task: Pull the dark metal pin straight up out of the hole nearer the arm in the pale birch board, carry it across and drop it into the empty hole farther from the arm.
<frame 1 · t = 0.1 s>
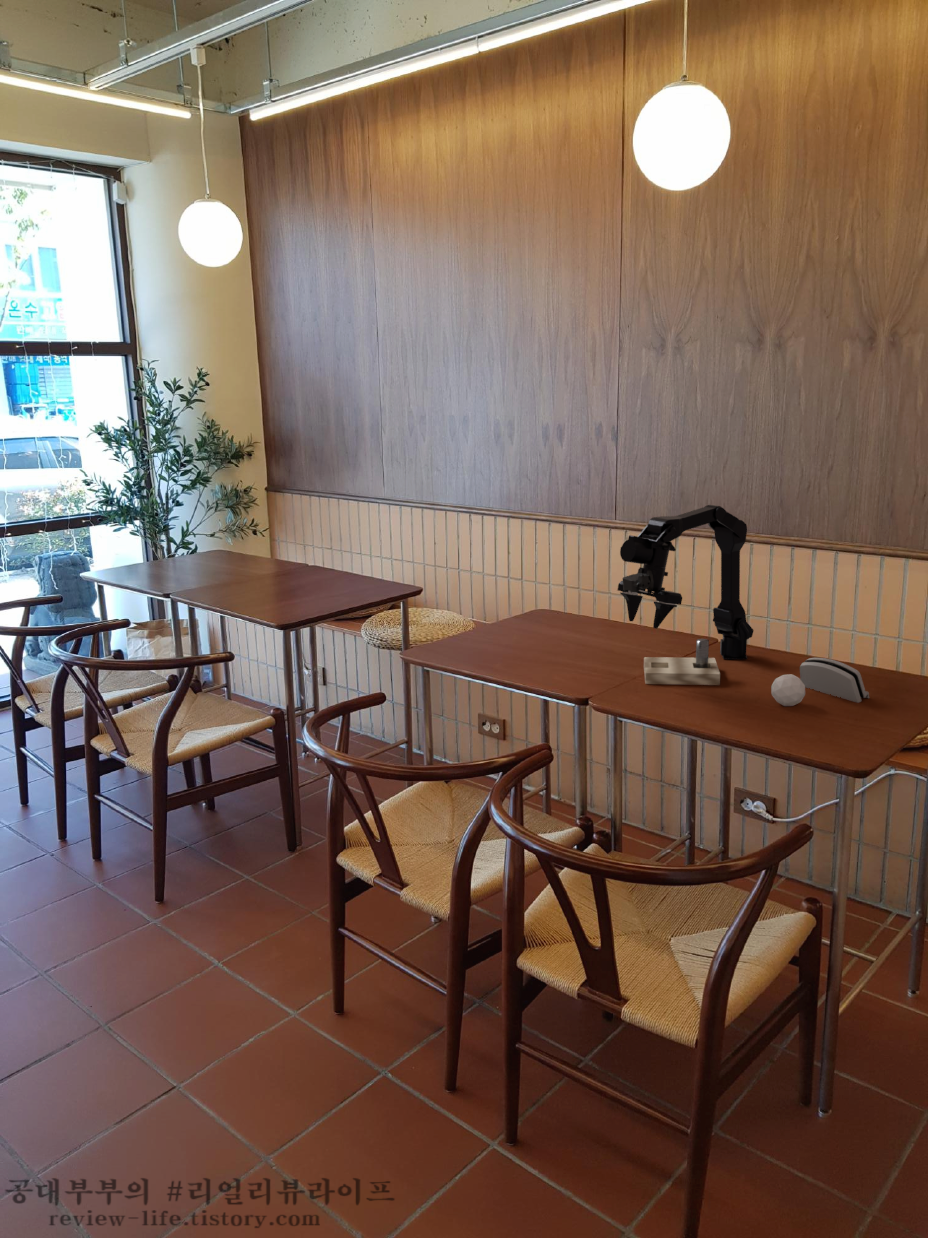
hand: (642, 624, 245), 15 cm above the table, tool pointing down, fingers open, 9 cm apart
geometric ball: (787, 705, 227), on the table
pin: (701, 676, 250), resting in dock board
grey napkin holder: (831, 694, 234), on the table
dock board: (680, 675, 251), on the table
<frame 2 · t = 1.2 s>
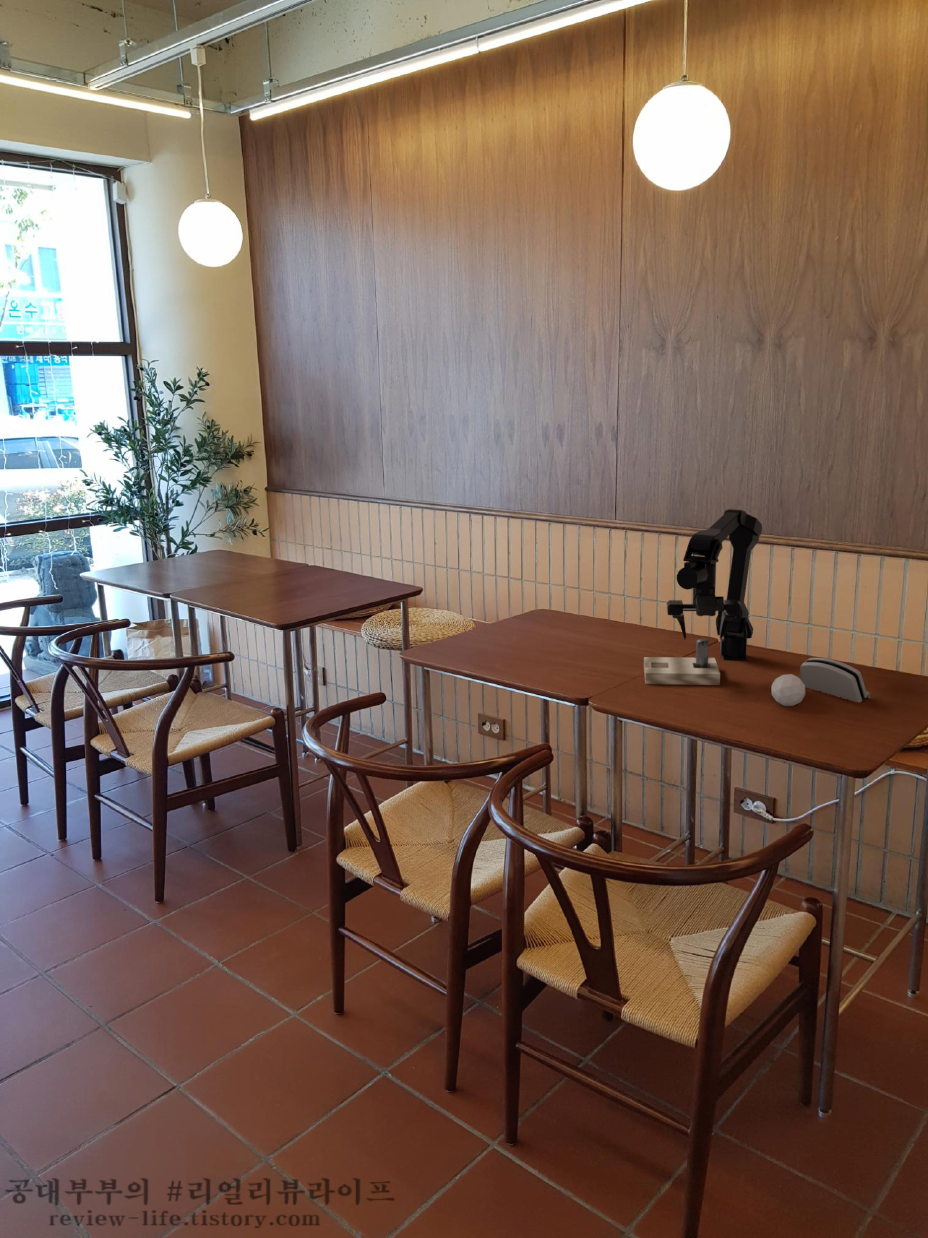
hand: (702, 639, 248), 10 cm above the table, tool pointing down, fingers open, 9 cm apart
nothing on the table moved.
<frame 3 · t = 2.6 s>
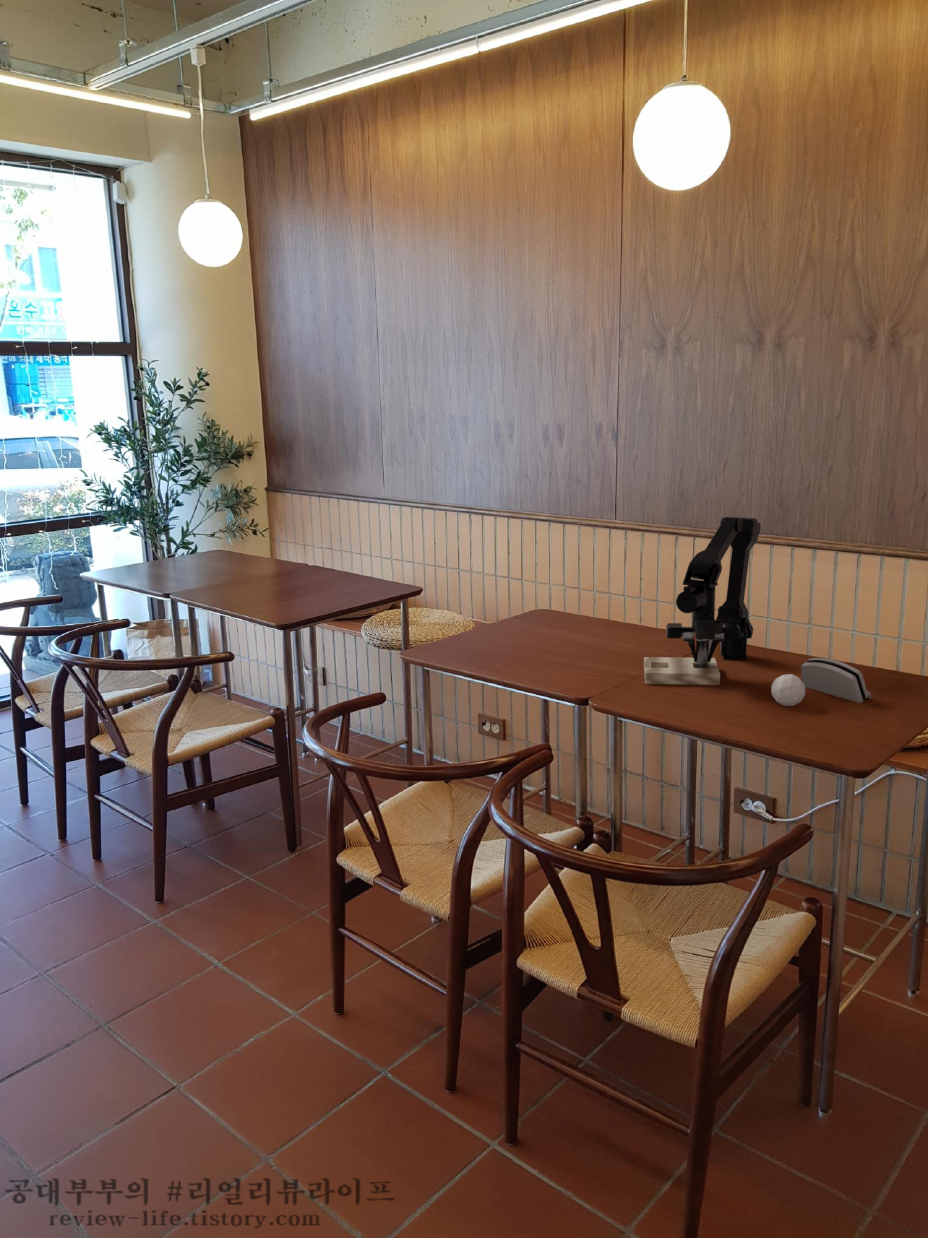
hand: (701, 661, 249), 4 cm above the table, tool pointing down, fingers closed on pin, 3 cm apart
pin: (701, 676, 250), resting in dock board, touching gripper
everything else where it was.
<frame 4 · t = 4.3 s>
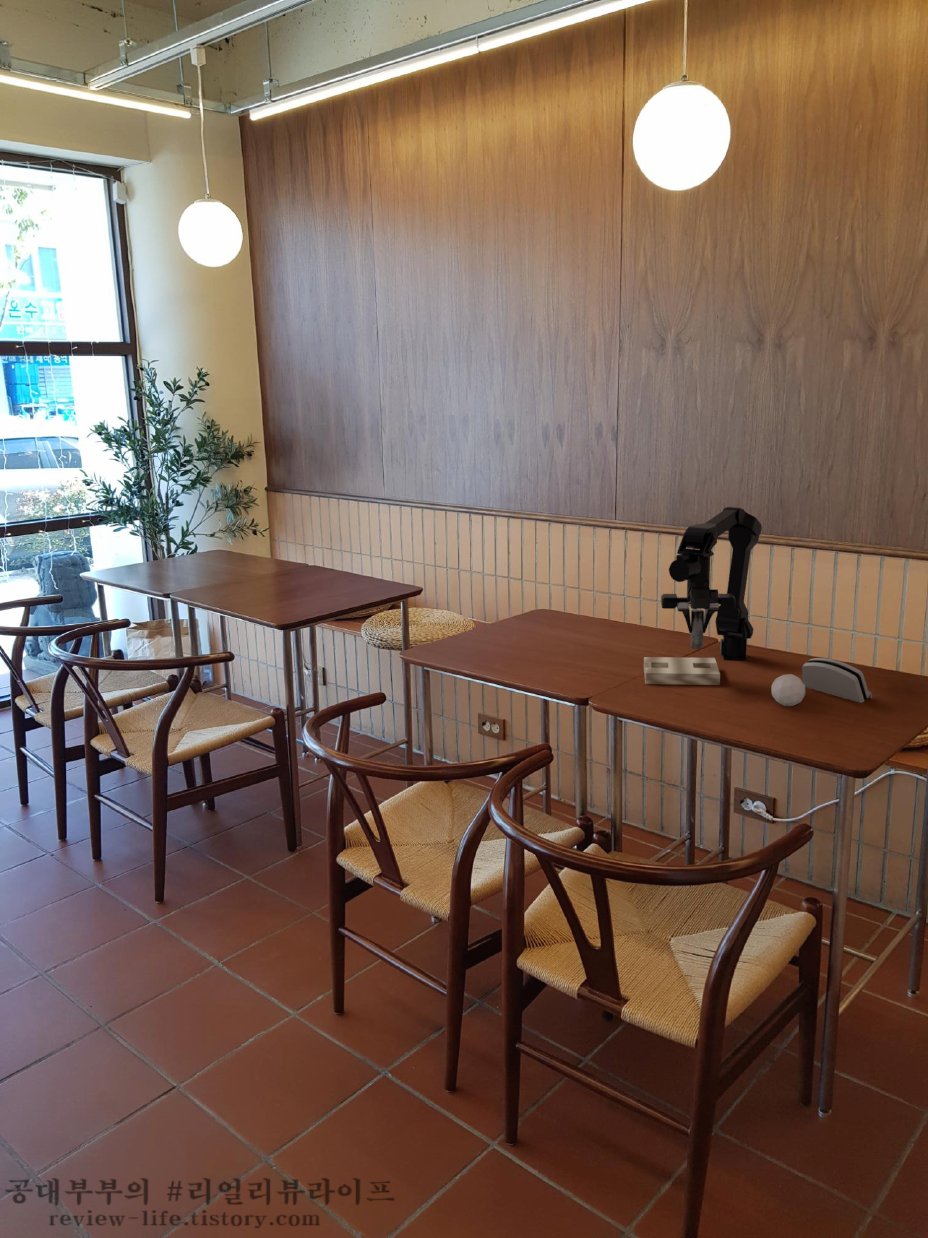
hand: (696, 632, 247), 12 cm above the table, tool pointing down, fingers closed on pin, 3 cm apart
pin: (696, 647, 248), point 8 cm above the table, touching gripper
everything else where it was.
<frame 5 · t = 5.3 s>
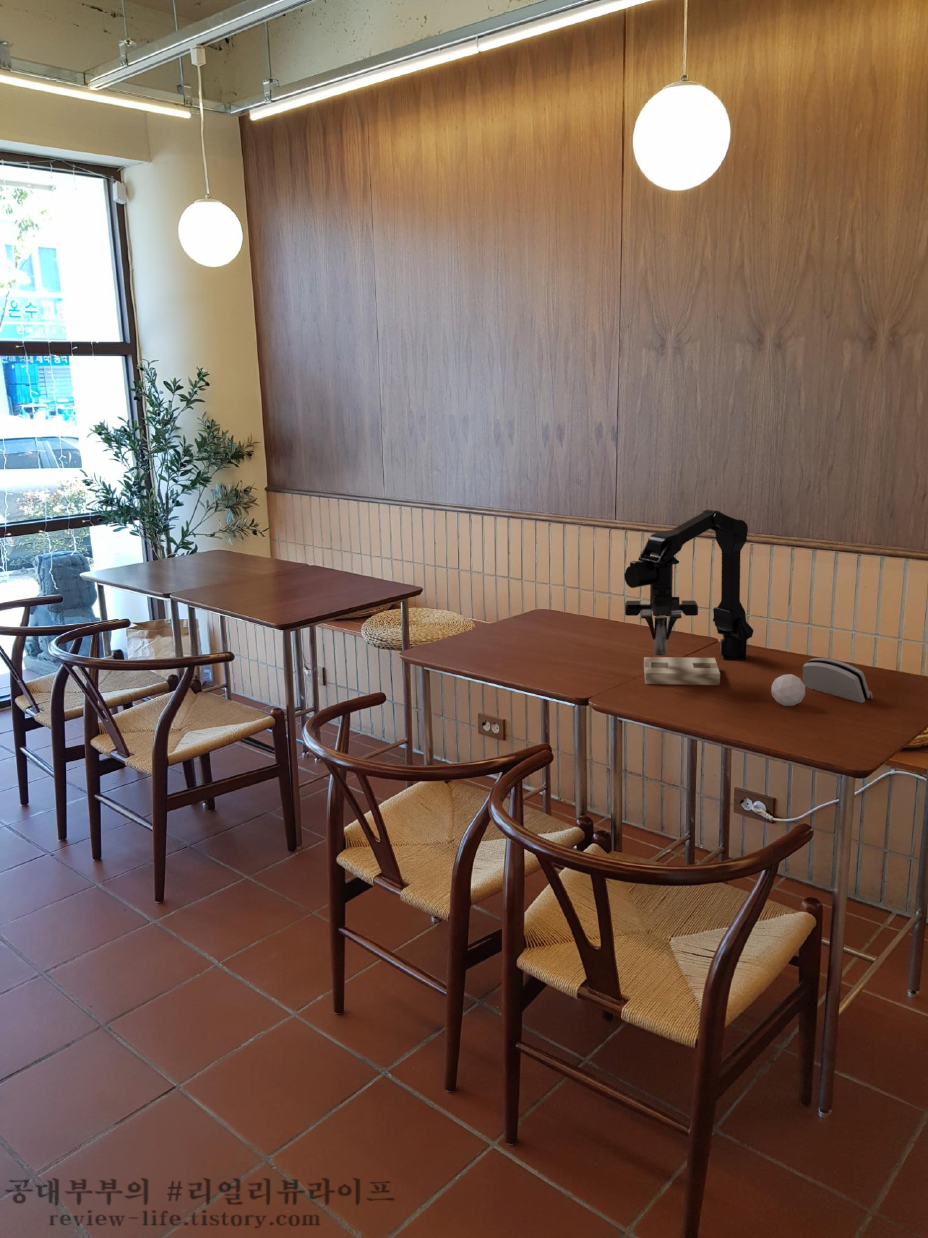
hand: (660, 639, 249), 10 cm above the table, tool pointing down, fingers closed on pin, 3 cm apart
pin: (660, 653, 250), point 6 cm above the table, touching gripper
everything else where it was.
when the fingers open (5 cm above the table, at t = 6.3 s): pin drops 1 cm, resting in dock board.
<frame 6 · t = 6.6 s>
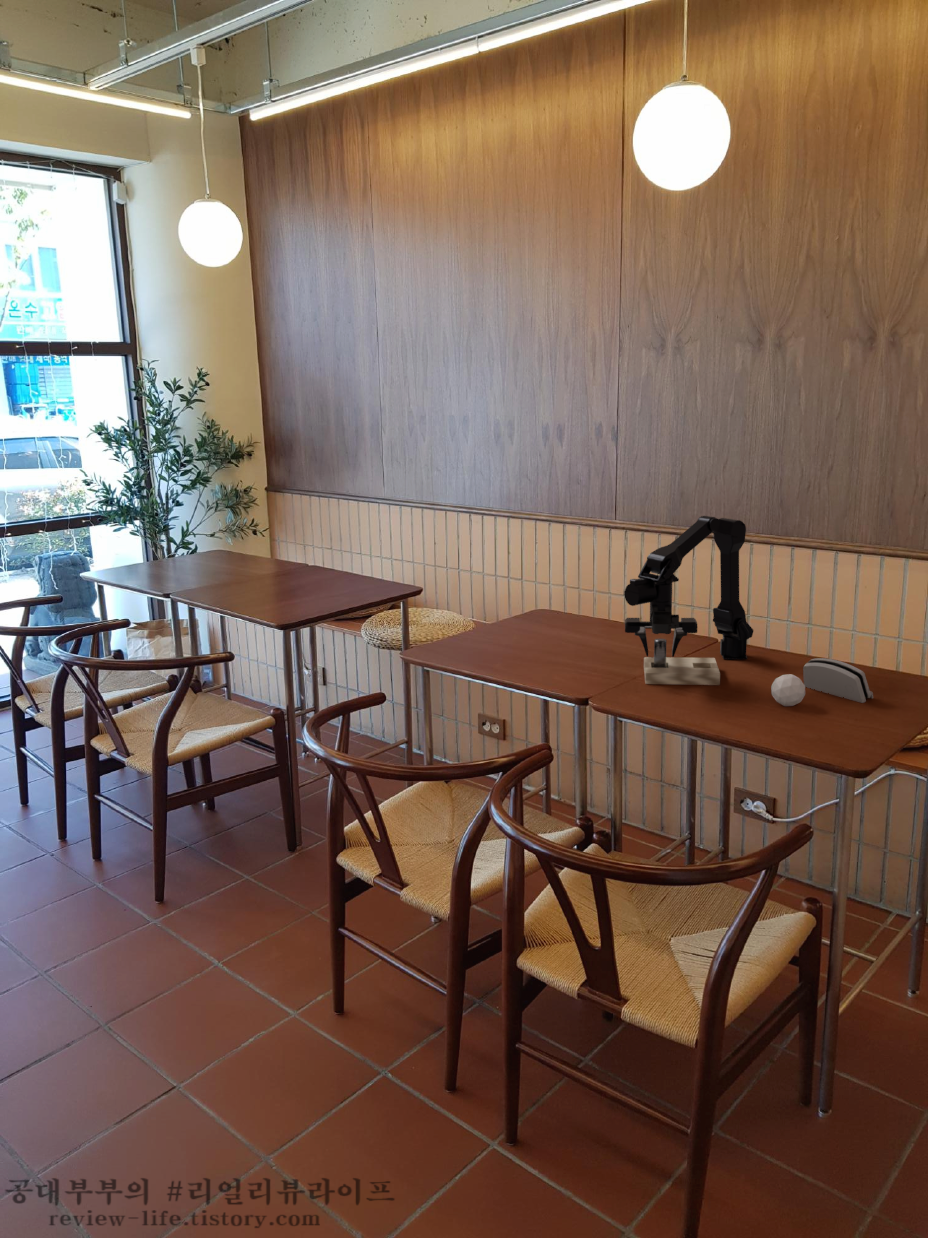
hand: (660, 656, 251), 5 cm above the table, tool pointing down, fingers open, 6 cm apart
pin: (659, 675, 252), resting in dock board
everything else where it was.
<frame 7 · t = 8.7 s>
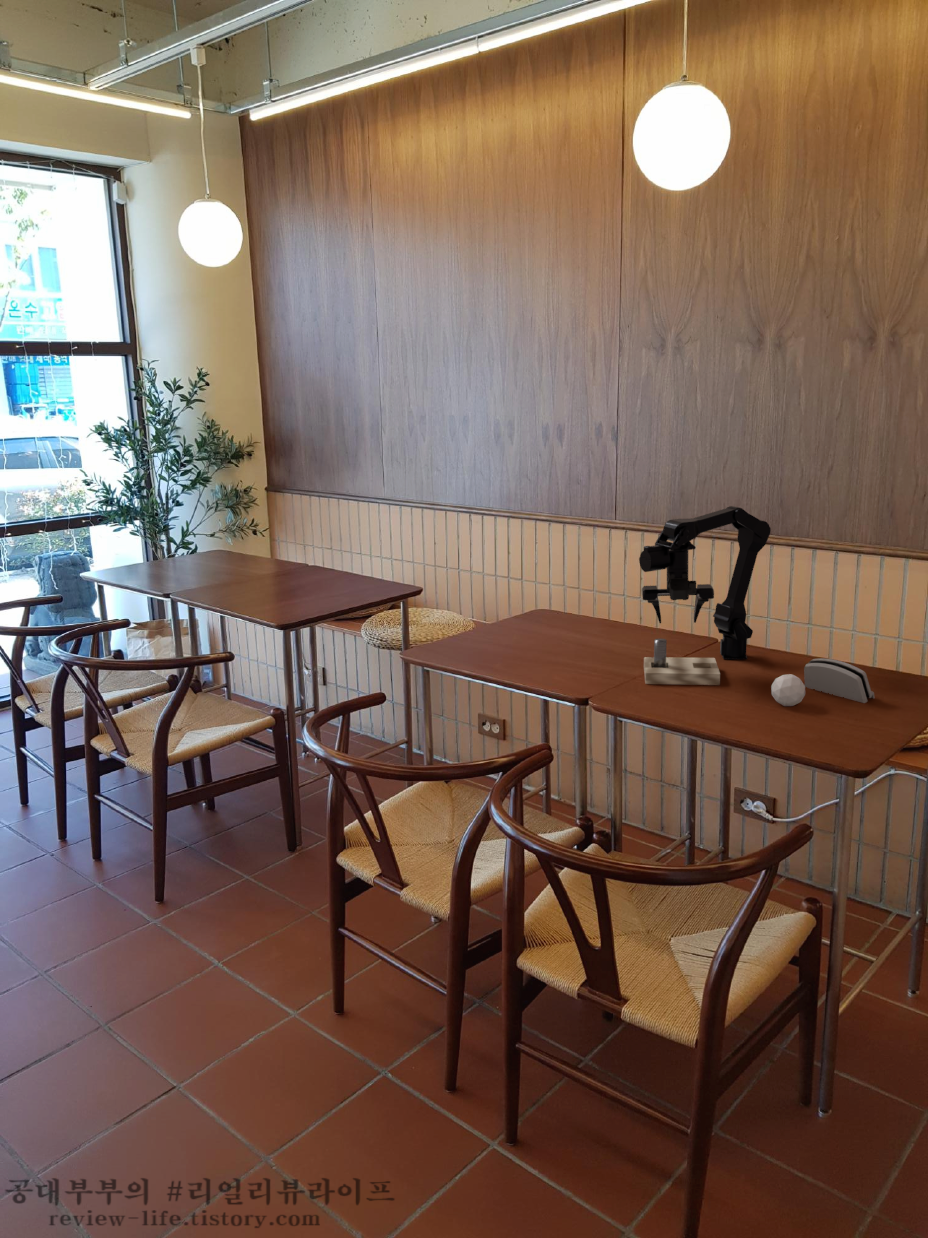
hand: (677, 622, 256), 13 cm above the table, tool pointing down, fingers open, 9 cm apart
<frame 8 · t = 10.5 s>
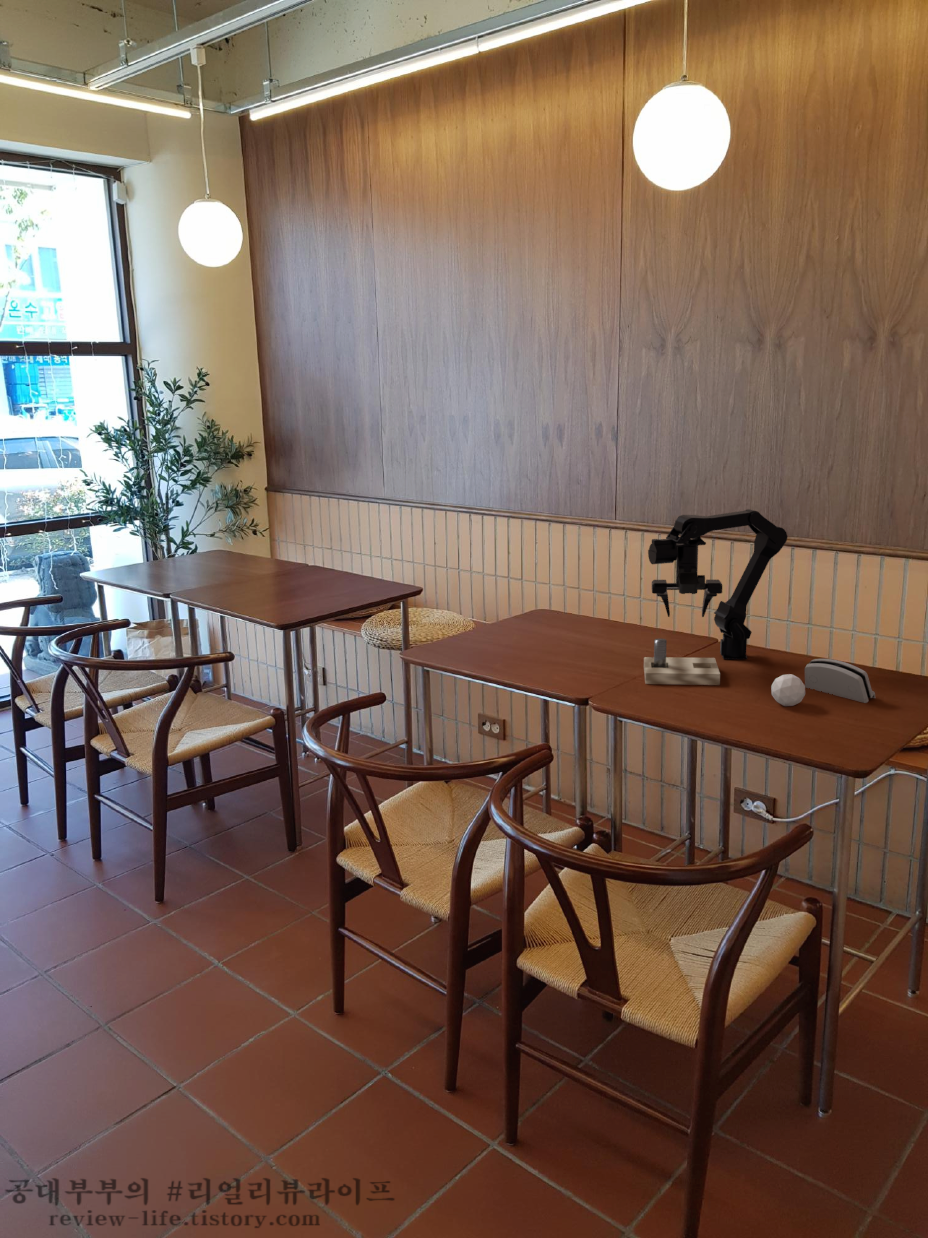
hand: (685, 616, 260), 13 cm above the table, tool pointing down, fingers open, 9 cm apart
at the end: pin 0.0 cm from the target spot on the dock board, point 0.0 cm above the dock board's base; pin tilted 0°; the gripper is holding nothing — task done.
